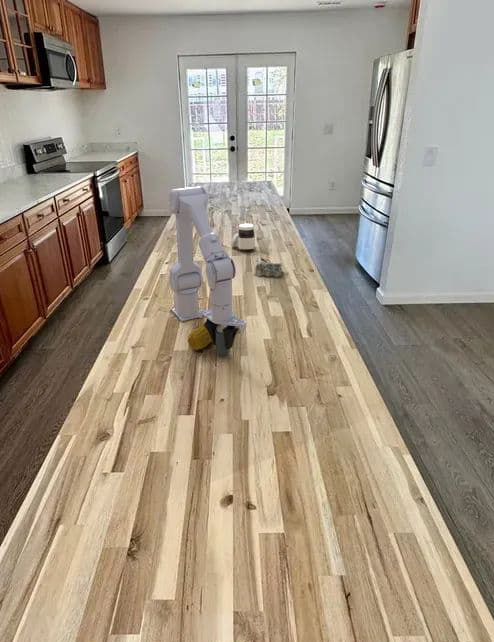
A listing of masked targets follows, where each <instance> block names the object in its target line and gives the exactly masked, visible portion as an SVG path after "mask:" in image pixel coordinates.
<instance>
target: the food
mask: <svg viewBox="0 0 494 642" xmlns="http://www.w3.org/2000/svg"><path fill="white" fill-rule="evenodd" d="M220 325H221V324H220ZM187 343H188V346H189V348H190V349H192V350H194V351H198V350H202V349H204V348H206V347H207V346H208V345H209V344H211V343H213V342H212V339H211V336H210V334H209V332H208V330H207V329H206V328H205V326H204V323H203V324H201V325H200V326H198V327H197V328H195V329H193V330H192V331H191V332H190V333H189V335H188V338H187Z"/></svg>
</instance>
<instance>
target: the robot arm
mask: <svg viewBox="0 0 494 642" xmlns="http://www.w3.org/2000/svg"><path fill="white" fill-rule="evenodd" d="M168 204H169V205H168V206H169V211H170V214H173V215H175V227H176V228H175V229H176V244H177V245H176V246H177V247H176V248H177V262H176V263H174V264H173V265H172V266H171V267H170V269H169V276H168V281H169V282H168V283H169V286H170V289H171V290H172V291H173V293H172V294H173V295H172V296H173V307H174V308H172V309H171V311H172V312H173V314H174V315H175V316H176V317H177V318H178V319H179V321H181V322H185V321H189V320H193V319H197V318H200V319H205V322H204V323H203V324H204V326H205V328H206V329H207V330H208V332H209V334H210V336H211V339H212V342H211V343H212V345H213V346H216V344H215V329H216V327H217V326H218V325H220V324H221V325H227V327H225V328H224V329H223V333H224V336H225V342H226V349H227V350H229V349H230V350H231V349H232V348H233V346H234V341H235V338H236V335H237V333H238V332H239V331H240V332H243V331H245V330H246V329H247V321H245V320H242V319H241V318H239V317H238V316H236V315H234V312H233V280H232V279H235V278H236V274H237V270H236V263H235V262H234V259H233V258H232V256H230V254H229V253H226V251H225V249H224V246H223V243H222V241H221V239H220V236H219V235H218V234H217V233H214V231H213V229H212V226H211V222H210V218H209V215H208V212H207V210H208V205H209V195H208V191H207V189H206V188H205V187H204V185H199V186H193V187H184V188H172V189H171V190H170V191H169V193H168ZM193 226H194V229H195V230H196V232H197V234H198V236H199V240H198V247H199V249H200V252H201V254H202V257H203V259H204V262H205V268H204V269H205V275H206V278H207V286H208V288H209V292H210V293H209V295H210V309H206V308H201V309H200V301H199V291H200V290H201V289H200V288H201V287H202V286H203V284H204V277H203V273H202V272H203V271H202V267H201V266H200V265H199V264H198V263H197V262H195V260H194V235H193V234H194V232H193Z"/></svg>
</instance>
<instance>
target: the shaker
mask: <svg viewBox="0 0 494 642" xmlns="http://www.w3.org/2000/svg"><path fill="white" fill-rule="evenodd" d="M225 327H227V325H218V326H217V327H216V329H215V344H216V345H215V353H216V355H218V356H227V355H230V353H231V348H230V349H229V350H227V349H226V342H225V336H224V333H223V329H224V328H225Z"/></svg>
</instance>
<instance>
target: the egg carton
mask: <svg viewBox="0 0 494 642" xmlns="http://www.w3.org/2000/svg"><path fill="white" fill-rule="evenodd" d="M282 267H283V263H282V262H280V263H279V262H278V263H273V262H267V263H266V262H263V261H262V262H258V263H257V264H256V265H255V268H254V269H255V276H258V277H263V276H264V277H265V276H266V277H275V278H278V277H282Z"/></svg>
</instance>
